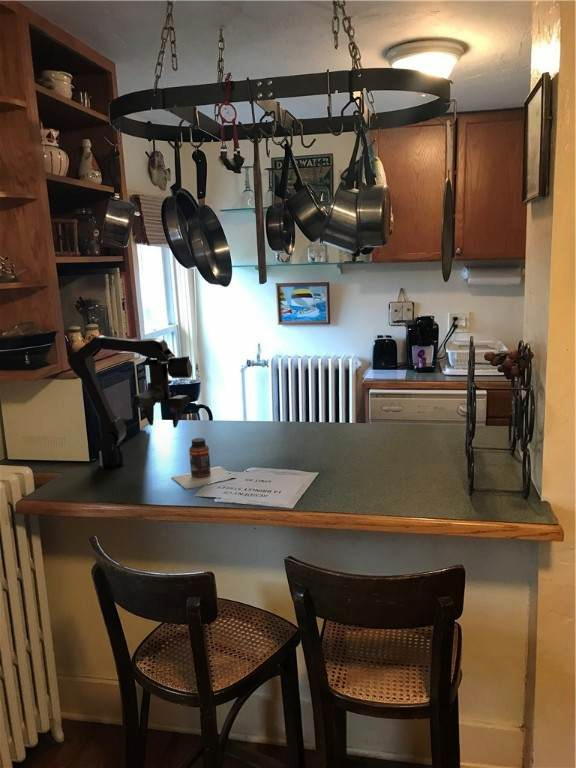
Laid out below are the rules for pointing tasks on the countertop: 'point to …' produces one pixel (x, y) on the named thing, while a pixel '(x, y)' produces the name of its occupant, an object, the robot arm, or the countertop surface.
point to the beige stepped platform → (192, 482)
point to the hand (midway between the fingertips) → (163, 426)
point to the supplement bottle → (199, 458)
